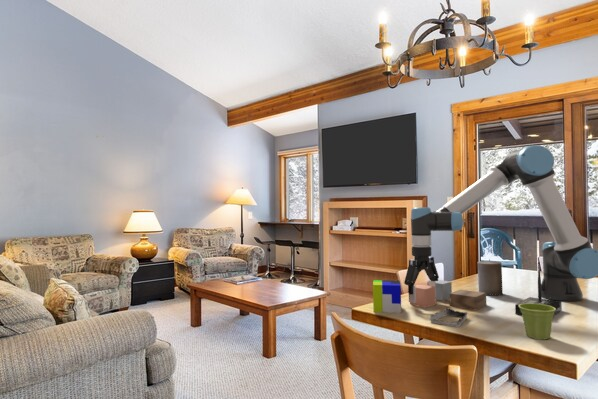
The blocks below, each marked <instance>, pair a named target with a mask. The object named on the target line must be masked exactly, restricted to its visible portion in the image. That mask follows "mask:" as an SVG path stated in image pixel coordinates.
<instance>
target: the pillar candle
mask: <svg viewBox="0 0 598 399" xmlns="http://www.w3.org/2000/svg"><path fill="white" fill-rule="evenodd" d="M502 269H503V266H502V262H500V261H494V260H493V261H492V260H491V259H488V260H483V261H482V260H481V261H477V280H478V284H477V285H478V292H484V293H486V296H503V294H504V293H503V270H502Z"/></svg>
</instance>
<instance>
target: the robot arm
mask: <svg viewBox="0 0 598 399" xmlns="http://www.w3.org/2000/svg"><path fill="white" fill-rule="evenodd" d="M554 164H555V157H554V155H553V153H552V152H551V151H550V149H548V148H547V147H544V146H543V145H542V146H541V145H537V144H534V145H528V146H525V147H522V148H520V149H516V150H514V151H512V152H509V153H508V154H507V155H506V156H504V157H503V158H502V159H501V160H500V161H498V162H497V163H496V164H495V165H493V166H491V168H490V172H488V173H487V174H485V175H484V176H482V177H481V178H480V179H478V180H477V181H476V182H474V183H473V184H471V185H470V186H469V187H467V188H466V189H464V190H463V191H461V192H460V193H459V194H457V195H456V196H455V197H454V198H452V199H450V200H449V201H448V202H447V203H444V205H443V206H441V207H439V209H437V210H435V211H432V210H431V208H430V207H428V206H427V207H413V208H411V212H410V224H411V225H410V230H411V234H410V236H411V256H413V257H414V258H413V259H408V266H407V270H406V274H405V278H404V280H403V283H404V285H406V286H407V287H408V288H407V289H408V291H407V292H408V303H410V302H411V303H416V286H415V284H416V281H417V279H418V277H419V275H420V273H421V272H422V271H424V272H425V274H426V276H427V278H428V279H429V280H428V281H427V282H428V286H434V287H435V281H438V280H439V272H438V269H437V266H436V264H435V258H434V257H433V256H432V232H435V231H436V232H437V231H438V232H443V231H444V232H454V231H455V232H456V231H459V232H460V231H461V230H462V229H463V227H464V216H463V214H465V213H466V212H467V211H469V210H470V209H472V208H473V207H475V206H476V205H477V204H479V203H480V202H482V201H484V200H485V199H486V198H487V197H489V196H490V195H492V193H494V192H495V191H497V190H498V189H499V188H501V187H503V186H508V185H510V184H511V183H512V182H514V181H517V180H520V182H521V184H522V186H524V187H526V188H529V191H530V193H531V195H532V197H533V199H534V200H535V203H536V205H537V207H538V209H539V211H540V213H541V215H542V217H543V220H544V221H545V223H546V226H547V228H548V229H549V232H550V234H551V235H552V238H553V240H554V241H546V242H543V243H542V250H541V252H542V267H543V269H542V271H543V272H542V273H543V278H542V280H541V295H542V298H543V299H544V298H545V299H547V300H555V301H561V302H562V301H565V302H577V301H578V302H579V301H583V298H584V297H583V291H582V289H581V287H580V283H579V281H578V279H581V280H590V279H594V278H596V277H598V249H596V248H593V247H592V245H591V243H590V241H589V239H588V238H587V237H585V236H582V235H581V233H580V232H579V231H580V230H579V229H578V227H577V226H576V223H575V222H574V219H573V217H572V216H571V213H570V211H569V209H568V207H567V205H566V203H565V200H564V199H563V197H562V195H561V192H560V191H559V189H558V187H557V185H556V183H555V180H554V177H555V174H556V172H555V170H554ZM435 297H436V293H435Z"/></svg>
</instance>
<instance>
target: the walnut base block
mask: <svg viewBox="0 0 598 399" xmlns="http://www.w3.org/2000/svg"><path fill="white" fill-rule="evenodd" d="M449 306H450V307H455V306H456V307H457V308H461V307H462V309H467V308H468V309H467V310H473V311H474V310H475V311H477V310H479V309H481V308H483V307H486V306H487V295H486V293H484V292H479V291H475V290H467V289H458V290H456V291H452V293H450V299H449ZM456 307H455V308H456Z"/></svg>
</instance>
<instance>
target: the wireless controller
mask: <svg viewBox="0 0 598 399" xmlns="http://www.w3.org/2000/svg"><path fill="white" fill-rule="evenodd" d="M537 273H538V274H537V297H531V296H529V297H527V298H525V299H523V300H521V301H519V302H518V303H515V305H514V308H515V311H514V312H515V314H514V315H517V316H522V313H521V310H520V308H519V305H520V304H526V303H533V304H542V305H548V306H552V307H554V308H556V311H554V315H553V318H554V317H555V316H557V315H558V314H560V313H561V312H562V310H563V309H562V301H561V300H553V299H548V298H545V299H544V298H543V297H542V295H541V283H542V279H541V264H540V261H538V262H537Z"/></svg>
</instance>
